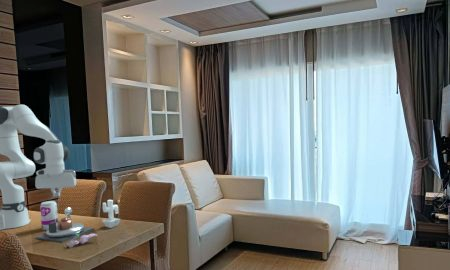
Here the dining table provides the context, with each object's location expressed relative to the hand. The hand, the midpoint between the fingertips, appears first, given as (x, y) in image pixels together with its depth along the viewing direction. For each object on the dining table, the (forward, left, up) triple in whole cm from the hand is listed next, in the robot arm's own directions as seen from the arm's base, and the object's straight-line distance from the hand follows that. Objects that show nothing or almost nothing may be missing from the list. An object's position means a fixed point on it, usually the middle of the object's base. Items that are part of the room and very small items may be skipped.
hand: (56, 195), depth 177 cm
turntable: (+4, +1, -19) cm, 20 cm away
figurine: (+19, +19, -21) cm, 34 cm away
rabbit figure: (+26, -8, -21) cm, 34 cm away
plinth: (+4, +1, -21) cm, 21 cm away
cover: (+4, 0, -17) cm, 18 cm away
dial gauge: (-3, +9, -20) cm, 22 cm away
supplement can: (-15, +6, -21) cm, 26 cm away
